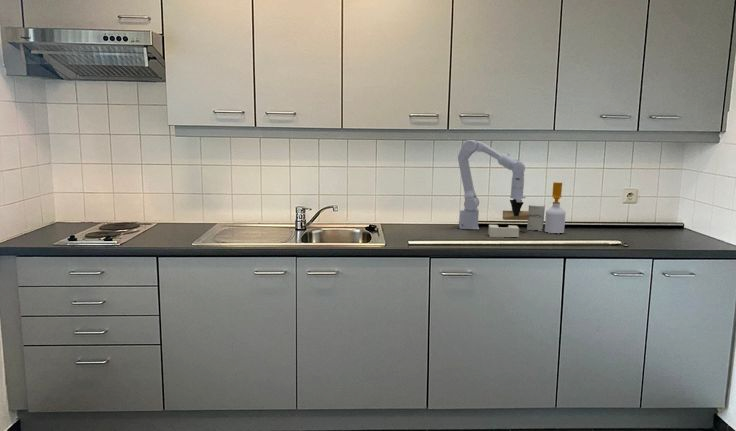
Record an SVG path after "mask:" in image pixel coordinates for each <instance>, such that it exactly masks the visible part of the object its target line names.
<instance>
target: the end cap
mask: <svg viewBox="0 0 736 431" xmlns="http://www.w3.org/2000/svg"><path fill="white" fill-rule="evenodd" d="M487 231H488V236H489V238H504V237H519V236H520V228H519V226H518V225H513V224H512V225H510V224H509V225H508V226H506V227H501V226H500V227H499V225H498V224H488V230H487Z"/></svg>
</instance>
